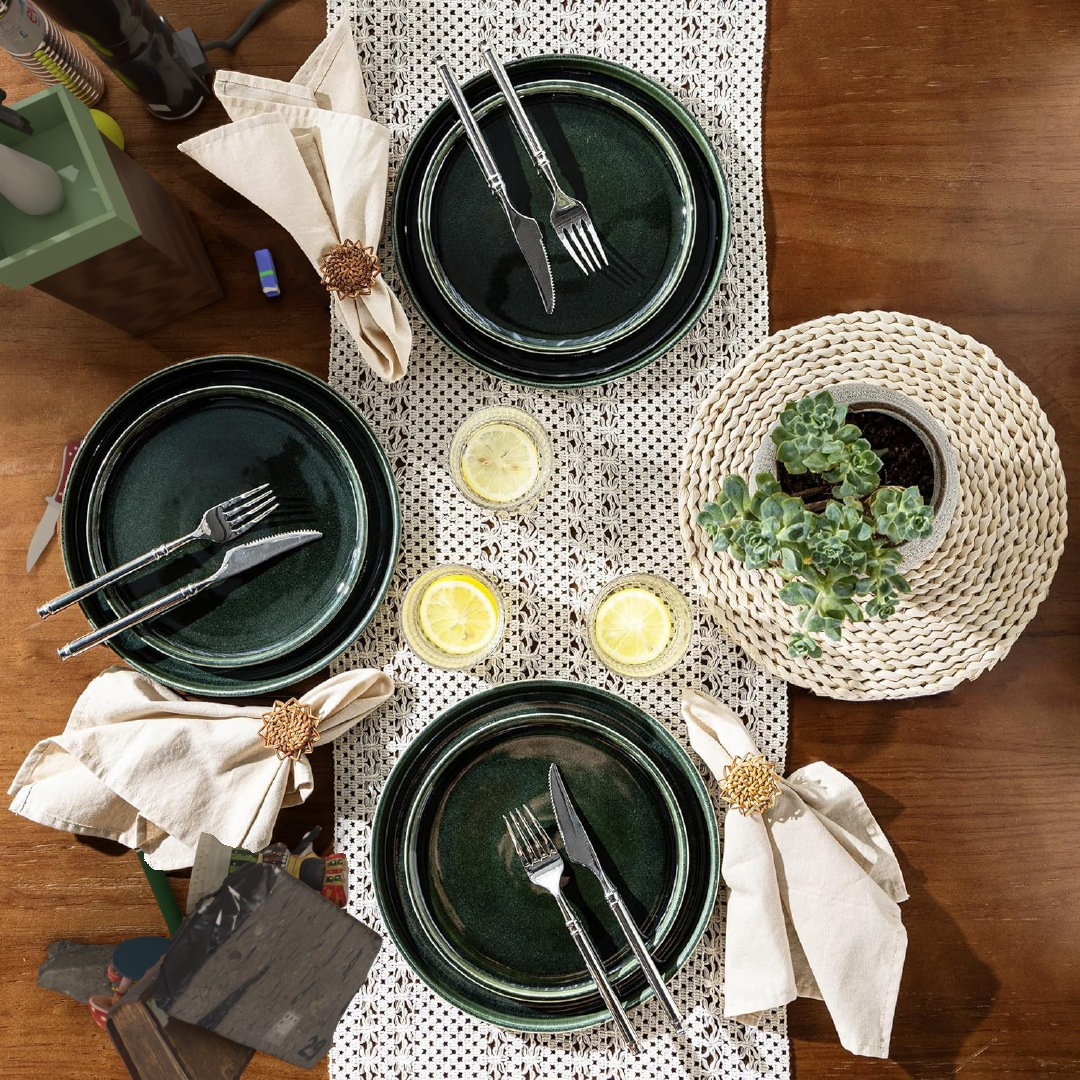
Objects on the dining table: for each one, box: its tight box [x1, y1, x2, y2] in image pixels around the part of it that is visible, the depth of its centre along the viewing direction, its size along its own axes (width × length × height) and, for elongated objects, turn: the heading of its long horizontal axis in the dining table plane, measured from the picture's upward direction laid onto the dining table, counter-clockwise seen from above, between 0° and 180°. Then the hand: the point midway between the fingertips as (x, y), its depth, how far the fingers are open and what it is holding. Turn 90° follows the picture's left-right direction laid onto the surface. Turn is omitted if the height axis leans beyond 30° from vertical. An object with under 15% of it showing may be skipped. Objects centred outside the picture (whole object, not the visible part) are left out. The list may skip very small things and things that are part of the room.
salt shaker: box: [0, 144, 66, 215], centre depth 83 cm, size 6×6×13 cm
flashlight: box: [134, 847, 187, 938], centre depth 112 cm, size 5×5×20 cm
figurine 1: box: [88, 935, 172, 1030], centre depth 106 cm, size 12×9×8 cm
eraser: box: [254, 248, 281, 298], centre depth 113 cm, size 2×6×2 cm
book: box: [105, 953, 258, 1080], centre depth 101 cm, size 17×7×25 cm, turn 25°
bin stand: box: [29, 128, 225, 337], centre depth 102 cm, size 14×14×24 cm
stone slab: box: [154, 862, 384, 1072], centre depth 101 cm, size 18×9×30 cm
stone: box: [35, 939, 134, 1006], centre depth 110 cm, size 18×9×10 cm
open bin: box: [0, 82, 142, 291], centre depth 88 cm, size 16×16×5 cm
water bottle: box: [0, 0, 106, 109], centre depth 103 cm, size 7×7×25 cm
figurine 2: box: [185, 825, 350, 915], centre depth 109 cm, size 12×15×20 cm
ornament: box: [89, 108, 125, 151], centre depth 110 cm, size 7×7×10 cm
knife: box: [26, 440, 84, 574], centre depth 114 cm, size 20×1×3 cm
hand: (10, 167), depth 81 cm, fingers open, 8 cm apart
